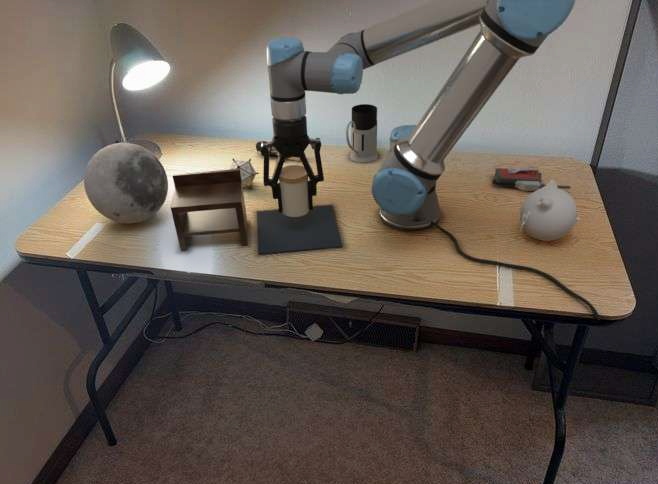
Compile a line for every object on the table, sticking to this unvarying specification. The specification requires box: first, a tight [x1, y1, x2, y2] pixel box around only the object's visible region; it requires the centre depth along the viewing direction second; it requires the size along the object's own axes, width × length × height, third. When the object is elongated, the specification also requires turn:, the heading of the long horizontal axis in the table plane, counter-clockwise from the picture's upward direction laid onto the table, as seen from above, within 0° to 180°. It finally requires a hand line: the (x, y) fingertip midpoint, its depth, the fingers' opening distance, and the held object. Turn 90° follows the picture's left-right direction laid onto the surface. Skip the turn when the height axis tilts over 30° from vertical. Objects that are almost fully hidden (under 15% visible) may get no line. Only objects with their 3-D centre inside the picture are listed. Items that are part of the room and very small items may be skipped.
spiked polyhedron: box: [229, 158, 260, 190], centre depth 152 cm, size 9×8×10 cm
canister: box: [278, 164, 310, 217], centre depth 129 cm, size 7×7×10 cm
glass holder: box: [345, 103, 379, 164], centre depth 161 cm, size 9×14×15 cm, turn 146°
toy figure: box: [255, 140, 301, 162], centre depth 167 cm, size 7×6×15 cm
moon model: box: [83, 142, 169, 224], centre depth 136 cm, size 20×20×20 cm
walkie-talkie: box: [491, 166, 571, 192], centre depth 147 cm, size 9×4×20 cm
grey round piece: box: [519, 179, 581, 242], centre depth 124 cm, size 15×13×12 cm
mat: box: [256, 204, 343, 256], centre depth 135 cm, size 20×20×1 cm
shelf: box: [170, 168, 249, 253], centre depth 129 cm, size 16×11×15 cm
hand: (295, 208), depth 131 cm, fingers closed on canister, 7 cm apart
